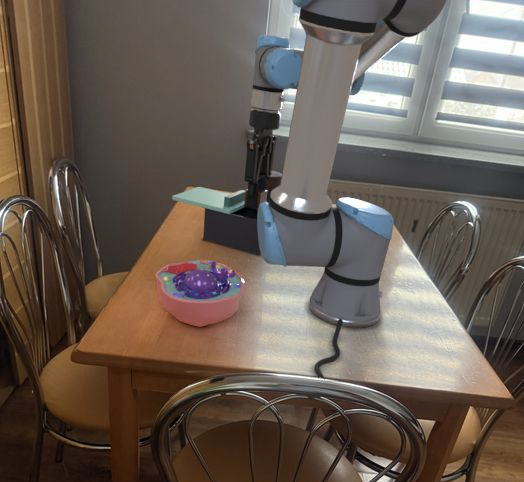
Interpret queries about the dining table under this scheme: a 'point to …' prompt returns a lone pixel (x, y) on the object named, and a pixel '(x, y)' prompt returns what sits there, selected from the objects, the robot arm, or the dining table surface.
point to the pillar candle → (273, 183)
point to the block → (261, 197)
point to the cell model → (199, 291)
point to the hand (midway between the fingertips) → (255, 205)
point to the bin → (233, 229)
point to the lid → (213, 199)
